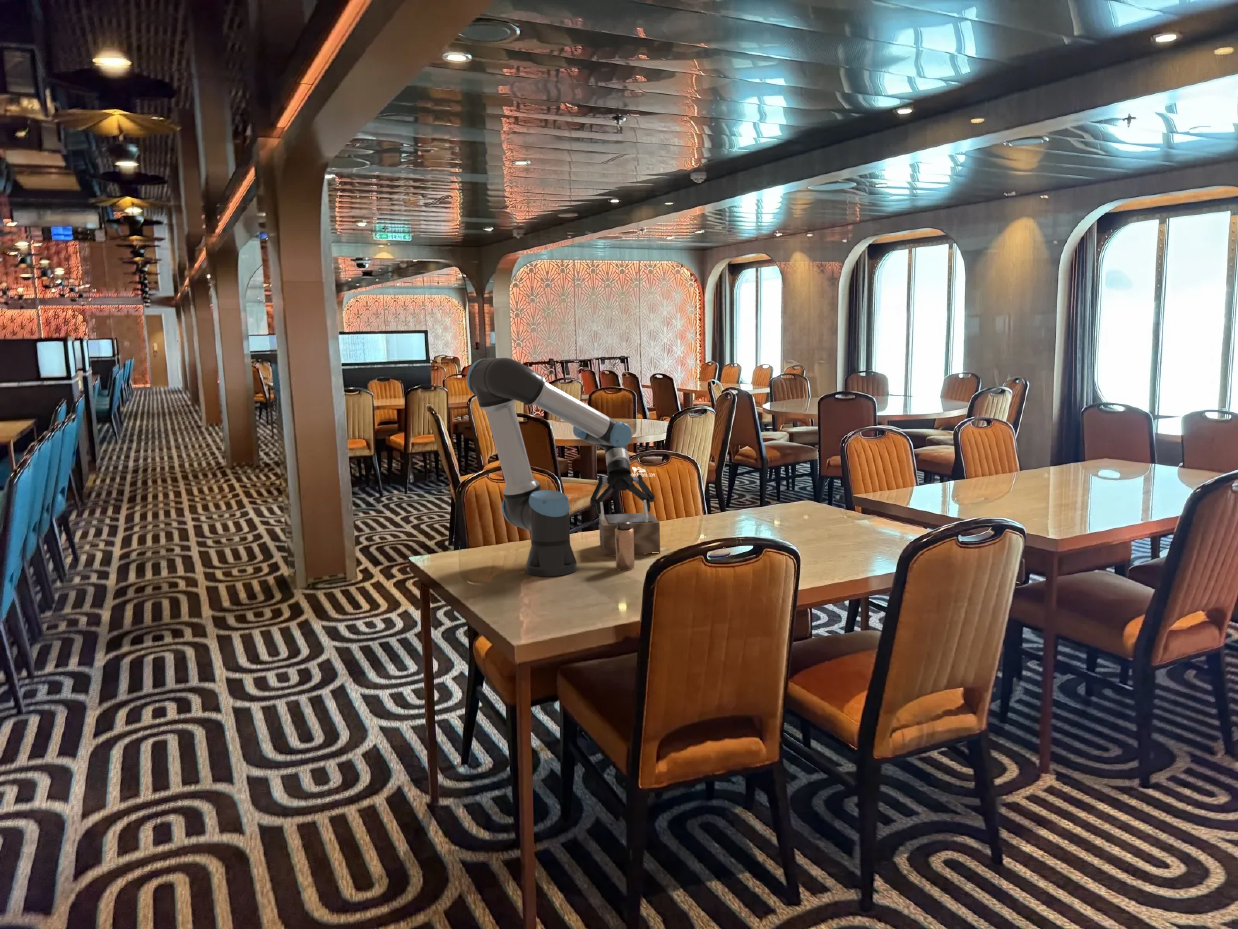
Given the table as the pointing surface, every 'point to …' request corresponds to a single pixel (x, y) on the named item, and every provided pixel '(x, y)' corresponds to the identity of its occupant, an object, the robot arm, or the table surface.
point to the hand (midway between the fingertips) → (625, 521)
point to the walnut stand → (643, 533)
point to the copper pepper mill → (624, 545)
